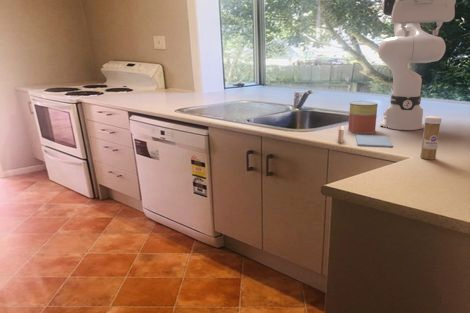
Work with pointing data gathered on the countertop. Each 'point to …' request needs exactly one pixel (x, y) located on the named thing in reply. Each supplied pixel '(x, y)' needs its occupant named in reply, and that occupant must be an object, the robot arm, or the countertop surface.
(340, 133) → the tile
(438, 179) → the countertop surface
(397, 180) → the countertop surface
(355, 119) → the canned food
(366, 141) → the mat
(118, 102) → the countertop surface
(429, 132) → the sprinkles bottle
